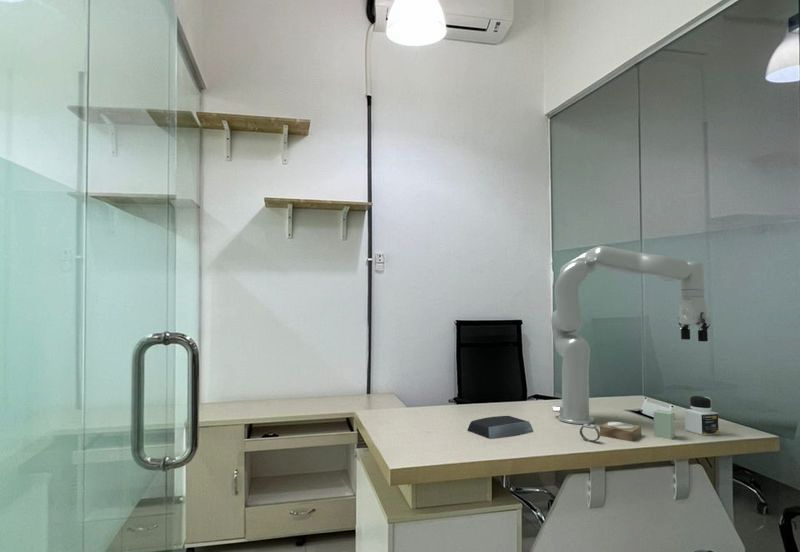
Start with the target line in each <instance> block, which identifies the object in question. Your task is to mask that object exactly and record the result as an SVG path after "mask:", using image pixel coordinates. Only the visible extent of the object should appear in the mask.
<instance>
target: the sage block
mask: <svg viewBox="0 0 800 552" xmlns="http://www.w3.org/2000/svg"><path fill="white" fill-rule="evenodd" d="M675 433H676V430H675V411H672V410H671V411H670V410H665V409H656V410H654V411H653V437H654V436H656V437H657V438H660V437H662V439H666V438H667V440H672V439H674V437H676V434H675ZM656 437H655V438H656Z"/></svg>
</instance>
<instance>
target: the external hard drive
mask: <svg viewBox="0 0 800 552" xmlns="http://www.w3.org/2000/svg"><path fill="white" fill-rule="evenodd" d="M467 431H468V432H470V433H473V434H476V435H478V436H481V437H483V438H486V439H489V440H492V439H500V438H501V439H503V438H508V437H514V436H519V435H525V434H529V433H533V432H534V429H533V426H532V424H531V422H530V421H529V420H526V419H521V418H517V417H515V416H512V415H498V416H496V415H495V416H489V417H482V418H478V419H475V420H471V421H470V422H469V425H468V427H467Z"/></svg>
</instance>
